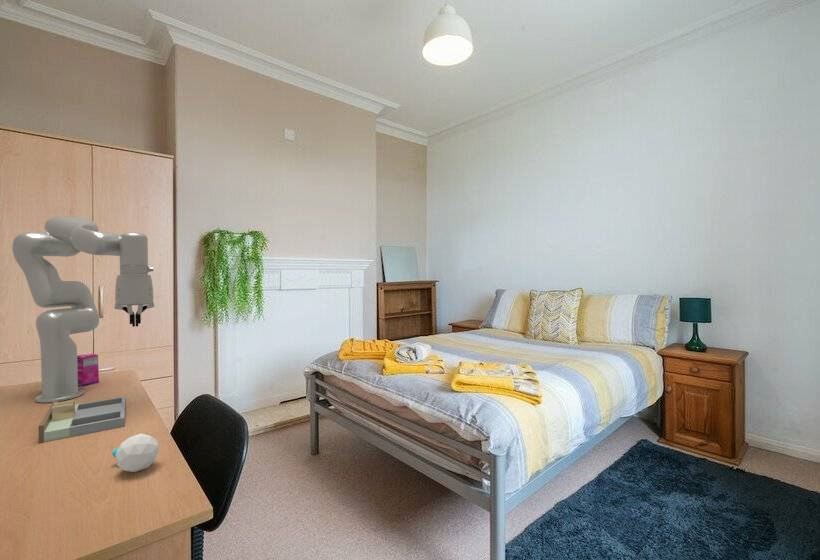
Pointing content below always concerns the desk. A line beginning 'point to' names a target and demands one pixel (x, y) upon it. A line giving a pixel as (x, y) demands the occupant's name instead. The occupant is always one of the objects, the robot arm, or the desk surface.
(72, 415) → the maple block
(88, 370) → the supplement box
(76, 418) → the board
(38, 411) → the desk surface
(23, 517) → the desk surface
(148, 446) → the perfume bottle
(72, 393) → the robot arm
